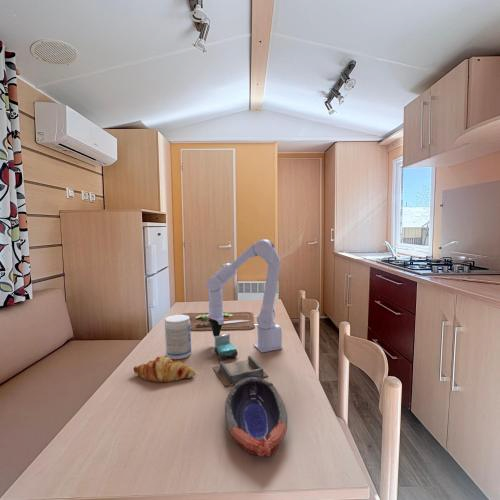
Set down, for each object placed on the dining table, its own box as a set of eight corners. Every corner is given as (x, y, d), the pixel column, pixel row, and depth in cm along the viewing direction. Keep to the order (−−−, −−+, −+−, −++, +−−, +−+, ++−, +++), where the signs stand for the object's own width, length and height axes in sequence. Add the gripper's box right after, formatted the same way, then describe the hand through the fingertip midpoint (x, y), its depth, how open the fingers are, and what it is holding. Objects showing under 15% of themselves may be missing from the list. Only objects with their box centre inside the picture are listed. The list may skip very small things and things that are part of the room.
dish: (278, 389, 94) (278, 373, 93) (296, 469, 63) (296, 446, 63) (227, 390, 93) (227, 374, 93) (221, 472, 63) (221, 449, 62)
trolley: (230, 349, 123) (230, 333, 123) (238, 358, 115) (238, 341, 114) (213, 352, 120) (212, 336, 120) (220, 361, 112) (219, 344, 111)
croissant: (197, 383, 104) (200, 358, 107) (190, 383, 95) (193, 356, 98) (137, 380, 105) (141, 356, 109) (124, 380, 96) (129, 354, 99)
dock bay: (251, 359, 114) (251, 351, 113) (268, 376, 101) (268, 368, 101) (212, 367, 108) (212, 359, 107) (225, 386, 95) (225, 377, 95)
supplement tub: (195, 356, 117) (194, 318, 116) (171, 362, 112) (169, 323, 110) (185, 347, 125) (184, 312, 124) (162, 353, 120) (161, 316, 118)
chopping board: (257, 314, 172) (257, 308, 172) (260, 330, 145) (260, 324, 145) (177, 315, 171) (177, 310, 171) (165, 332, 144) (165, 326, 144)
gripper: (201, 301, 132) (202, 331, 133) (211, 310, 119) (212, 343, 120) (217, 299, 135) (218, 329, 136) (228, 308, 122) (229, 341, 123)
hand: (216, 336), depth 128 cm, fingers closed
